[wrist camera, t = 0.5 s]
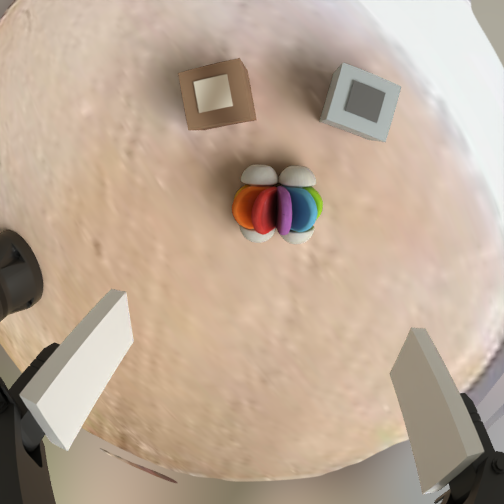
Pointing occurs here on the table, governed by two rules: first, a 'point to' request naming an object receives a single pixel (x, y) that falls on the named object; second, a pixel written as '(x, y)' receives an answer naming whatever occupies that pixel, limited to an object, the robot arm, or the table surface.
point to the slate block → (360, 103)
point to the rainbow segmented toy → (277, 204)
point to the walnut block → (217, 95)
